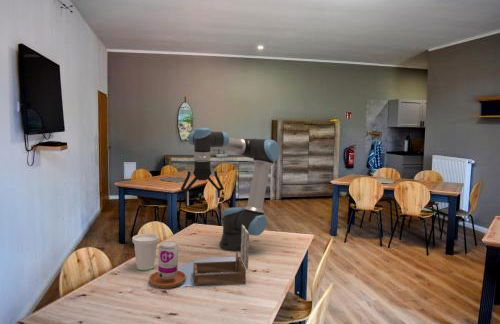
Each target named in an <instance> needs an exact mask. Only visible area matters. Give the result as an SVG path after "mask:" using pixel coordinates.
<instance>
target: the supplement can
mask: <svg viewBox="0 0 500 324" xmlns="http://www.w3.org/2000/svg"><path fill="white" fill-rule="evenodd" d="M178 257H179V246H178V243H177V242H176V241H174V240H165V241H162V242H160V245H159V247H158V268H157V269H158V271H157V272H158V276H159V277H160V278H162V279H173V278H175V276H177V270H178V262H179V258H178Z"/></svg>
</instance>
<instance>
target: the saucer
mask: <svg viewBox="0 0 500 324" xmlns="http://www.w3.org/2000/svg"><path fill="white" fill-rule="evenodd" d="M186 277H187V275H186V273H185V272H183V271H181V270H178V269H177V276H175V278H173V279H162V278H160V277H159V276H158V271H155V272H154V273H151V274H150V275H149V277H148V280H149V283H150V284H151V285H153V286H154V287H156V288H160V289H173V288H176V287H179V286H180V285H182V284H183V283H184V282H185V281H186Z"/></svg>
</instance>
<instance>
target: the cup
mask: <svg viewBox="0 0 500 324" xmlns="http://www.w3.org/2000/svg"><path fill="white" fill-rule="evenodd" d="M159 237H160V236H159V235H158V234H154V233H140V234H136V235H134V236H132V239H131V242H132V244H134V254H135V263H136V270H138V271H139V272H140V271H141V272H147V271H148V272H149V271H152V270H154V269H155V262H156V254H157V247H158V243H159V240H160V238H159Z"/></svg>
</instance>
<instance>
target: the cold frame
mask: <svg viewBox="0 0 500 324" xmlns="http://www.w3.org/2000/svg"><path fill="white" fill-rule="evenodd" d="M249 245H250V234H249V233H248V231H247V230H246V228H245V227H244V225H242V228H241V250H240V256H239V252H238V251H235V260H231V261H230V260H229V261H203V262H202V261H201V262H193V271H192V273H193V280H194V287H209V286H228V285H232V286H233V285H246V277H247V276H246V273H247V270H248V269H249V250H250V246H249ZM221 272H223V273H221ZM199 273H200V274H199Z"/></svg>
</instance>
